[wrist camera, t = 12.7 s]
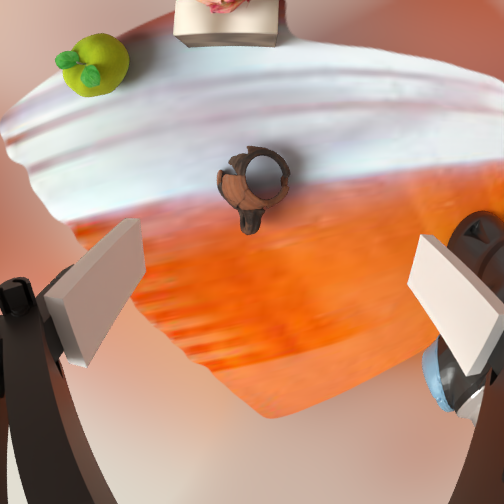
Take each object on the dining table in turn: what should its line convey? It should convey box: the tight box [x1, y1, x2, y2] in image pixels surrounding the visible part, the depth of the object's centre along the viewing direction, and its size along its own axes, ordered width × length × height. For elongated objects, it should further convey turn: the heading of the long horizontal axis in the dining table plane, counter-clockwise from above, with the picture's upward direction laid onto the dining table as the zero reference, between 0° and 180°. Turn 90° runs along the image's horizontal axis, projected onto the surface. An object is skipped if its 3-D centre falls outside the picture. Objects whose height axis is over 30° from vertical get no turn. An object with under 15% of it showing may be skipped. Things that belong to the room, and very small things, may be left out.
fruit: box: [55, 33, 130, 97], centre depth 32 cm, size 9×9×10 cm
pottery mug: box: [217, 146, 290, 235], centre depth 42 cm, size 12×10×8 cm
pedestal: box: [173, 0, 279, 47], centre depth 29 cm, size 12×12×8 cm
